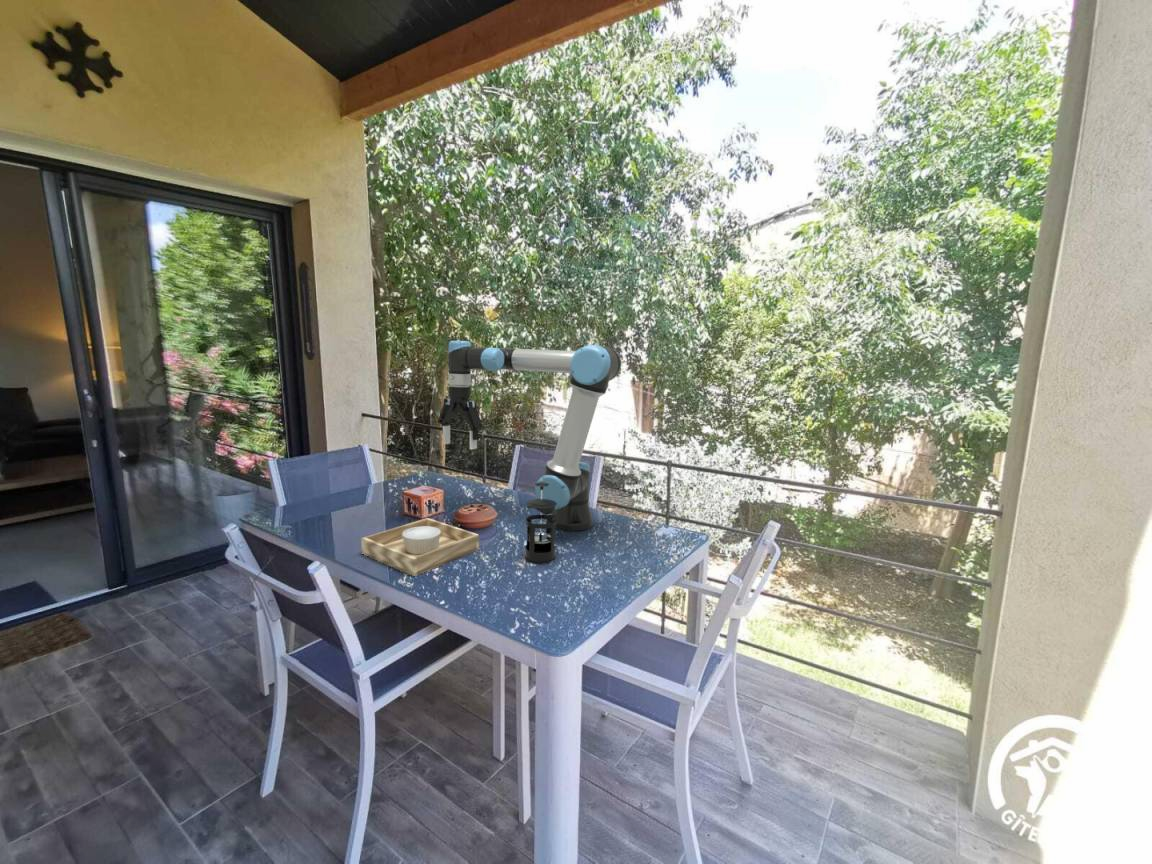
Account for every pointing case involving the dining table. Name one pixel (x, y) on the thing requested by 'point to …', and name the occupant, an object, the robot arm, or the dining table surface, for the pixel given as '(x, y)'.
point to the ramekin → (421, 539)
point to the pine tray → (394, 554)
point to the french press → (540, 539)
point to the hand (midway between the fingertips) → (459, 446)
